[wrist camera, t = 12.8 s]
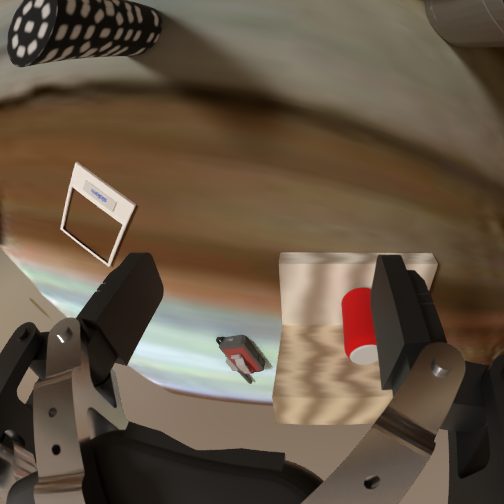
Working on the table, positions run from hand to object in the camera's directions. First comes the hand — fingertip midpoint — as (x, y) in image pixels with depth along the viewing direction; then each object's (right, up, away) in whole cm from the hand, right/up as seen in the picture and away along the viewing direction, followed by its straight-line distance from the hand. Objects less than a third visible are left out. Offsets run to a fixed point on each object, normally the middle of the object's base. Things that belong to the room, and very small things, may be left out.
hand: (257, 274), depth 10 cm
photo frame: (-31, +8, +39) cm, 50 cm away
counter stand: (+18, -9, +40) cm, 45 cm away
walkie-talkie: (-2, -24, +56) cm, 61 cm away
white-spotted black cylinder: (-16, +32, +18) cm, 41 cm away
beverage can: (+17, -7, +35) cm, 39 cm away
